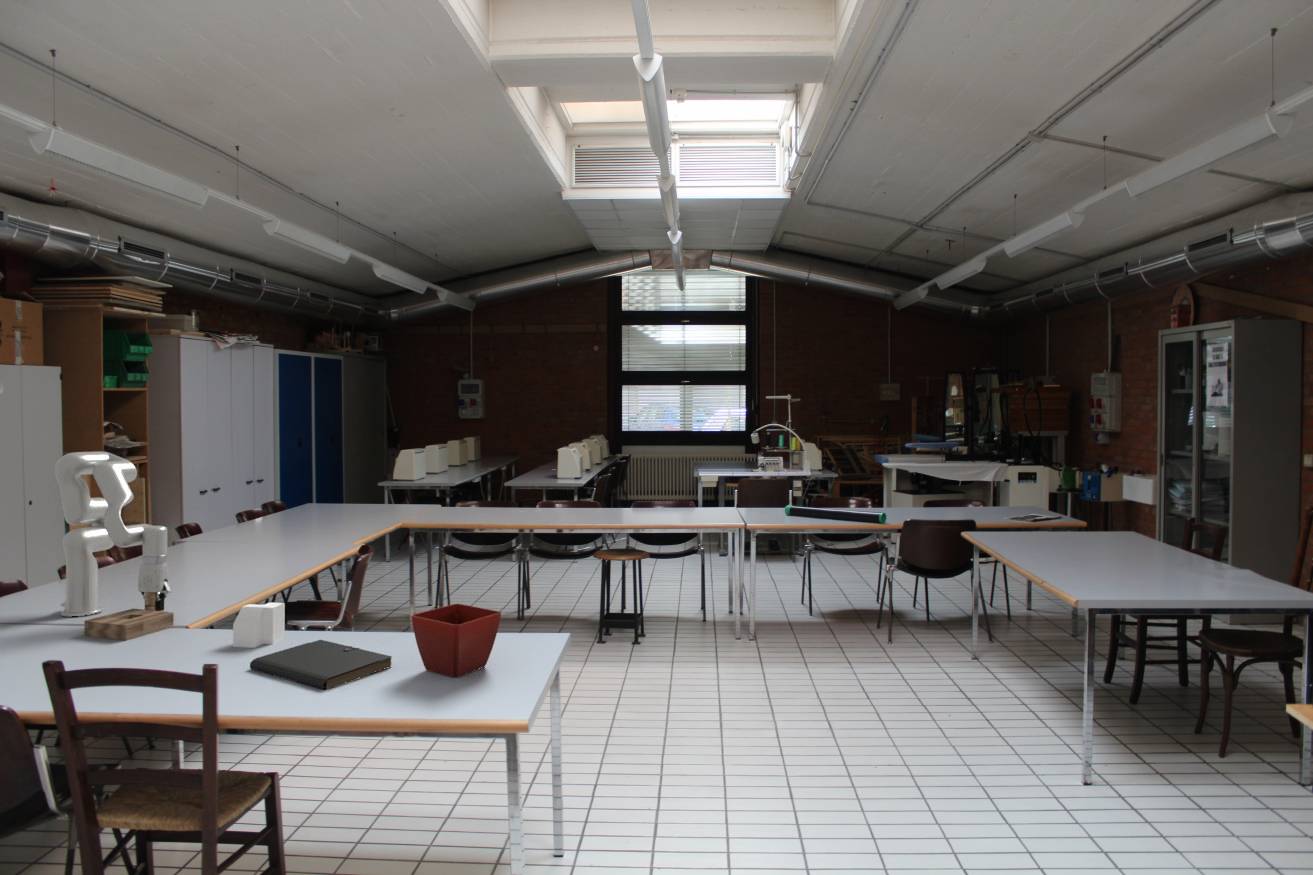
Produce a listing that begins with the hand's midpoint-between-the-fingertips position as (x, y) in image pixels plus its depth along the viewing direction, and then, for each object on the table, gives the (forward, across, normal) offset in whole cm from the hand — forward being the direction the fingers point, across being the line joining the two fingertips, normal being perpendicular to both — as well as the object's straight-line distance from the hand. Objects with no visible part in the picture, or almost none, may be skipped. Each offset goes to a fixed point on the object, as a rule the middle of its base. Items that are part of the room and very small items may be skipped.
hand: (154, 609), depth 284 cm
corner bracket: (+3, +57, -12) cm, 59 cm away
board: (+3, +6, -15) cm, 17 cm away
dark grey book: (+4, +94, -28) cm, 98 cm away
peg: (+3, 0, 0) cm, 3 cm away
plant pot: (+3, +132, -16) cm, 133 cm away
